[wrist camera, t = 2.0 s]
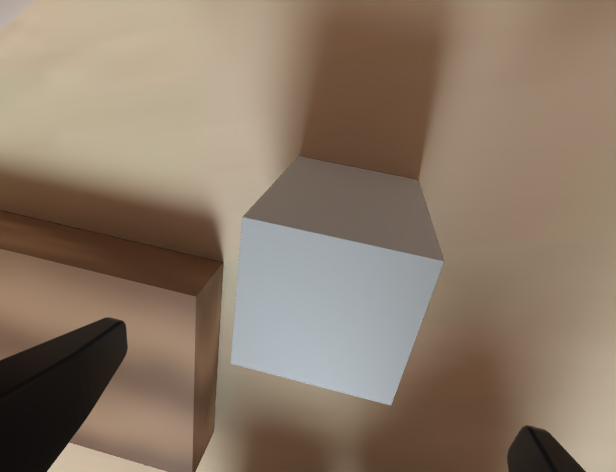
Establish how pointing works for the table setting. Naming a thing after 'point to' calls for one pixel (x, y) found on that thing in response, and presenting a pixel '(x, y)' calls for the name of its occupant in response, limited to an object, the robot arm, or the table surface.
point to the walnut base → (139, 325)
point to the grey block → (335, 278)
